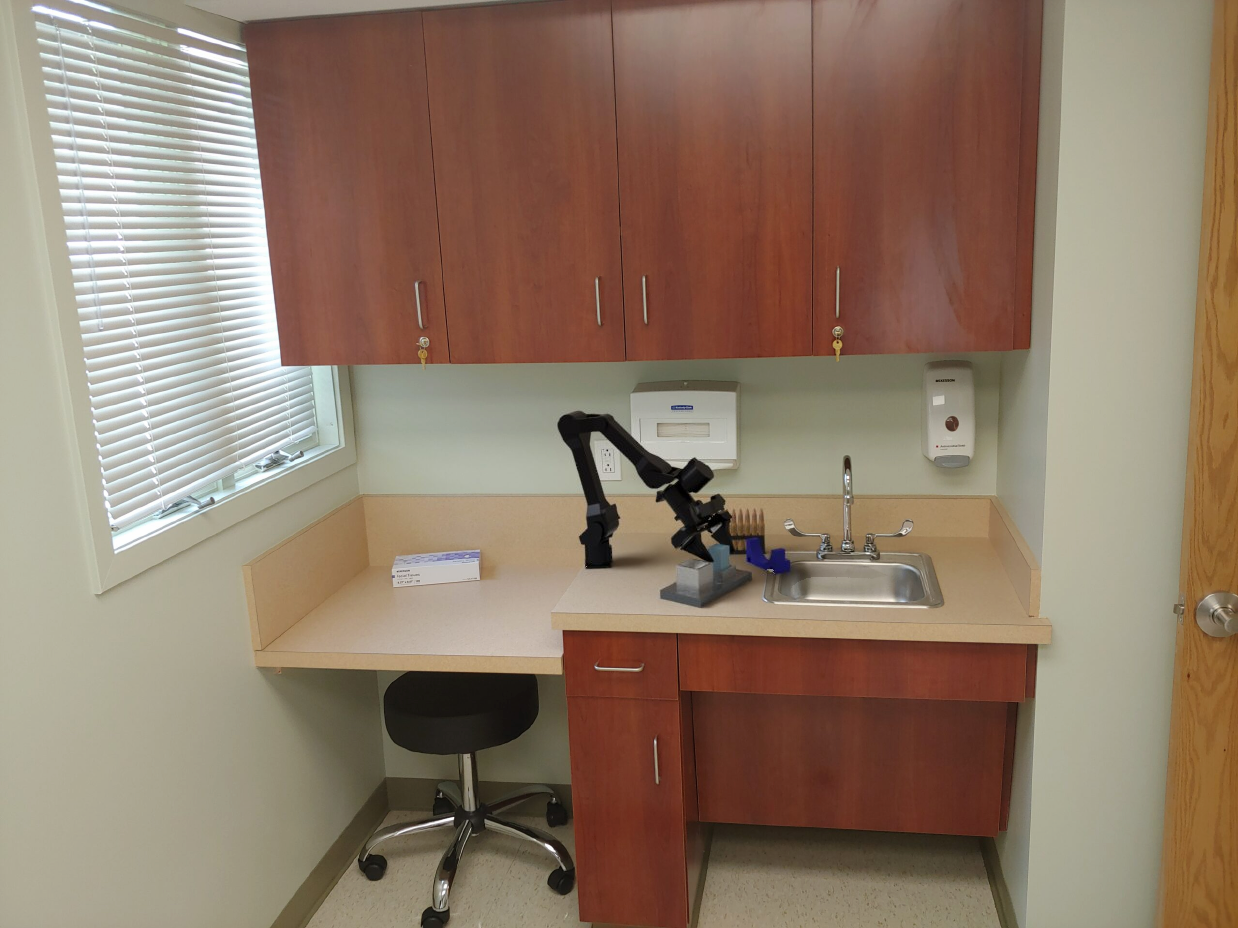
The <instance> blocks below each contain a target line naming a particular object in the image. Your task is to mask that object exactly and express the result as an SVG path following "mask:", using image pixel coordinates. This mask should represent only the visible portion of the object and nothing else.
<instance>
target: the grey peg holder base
mask: <svg viewBox="0 0 1238 928" xmlns="http://www.w3.org/2000/svg"><path fill="white" fill-rule="evenodd" d="M675 571H676V572H675V573H676V577H675V578H676V581H675V582H674V583H671V584H669V585H668V586H665V587H663V588H661V589H660V590H659V597H660V598H659V599H662V600H666V601H670V602H674V603H678V604H683V605H687V606H690V607H691V606H692V607H696V608H699V609H700V608H703V607H705V606H707V605H709V604H710V603H713V602H714V601H716V600H718V599H720V598H721V597H723V596H726V595H727V594H729V593H731V592H733V591H734V590H736V589H738V588H740V587H741V586H744V585H746V584H747V583H749V582H751V581H753V571H747V570H744V569H739V568H737V565H735V564H730V567H729V568H727V569H725V570H723V571H718V570H713V563H712V562H707V561H704V560H702V559H697V558H692V557H691V558H688V559H687V560H684V561H682V562H680V563H678V564H675Z"/></svg>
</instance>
